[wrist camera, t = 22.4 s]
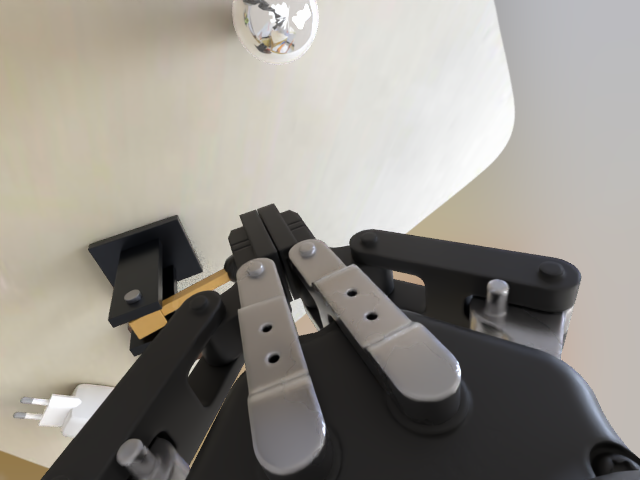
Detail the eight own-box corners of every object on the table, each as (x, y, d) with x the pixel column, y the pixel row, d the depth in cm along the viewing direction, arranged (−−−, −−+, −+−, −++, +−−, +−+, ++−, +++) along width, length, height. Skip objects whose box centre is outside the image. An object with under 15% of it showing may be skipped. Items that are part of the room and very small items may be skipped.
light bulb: (295, -10, 37) (342, -21, 27) (280, 65, 40) (319, 78, 30) (224, -36, 34) (249, -60, 24) (214, 46, 37) (232, 54, 27)
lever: (242, 243, 40) (254, 255, 38) (250, 265, 42) (263, 278, 40) (121, 304, 35) (126, 322, 33) (136, 327, 37) (142, 346, 35)
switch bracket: (177, 214, 44) (182, 277, 33) (202, 267, 48) (213, 337, 37) (89, 244, 42) (64, 321, 31) (123, 295, 46) (111, 378, 35)
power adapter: (19, 398, 48) (3, 439, 43) (31, 371, 47) (16, 410, 42) (111, 407, 54) (106, 444, 49) (125, 383, 53) (121, 419, 48)
